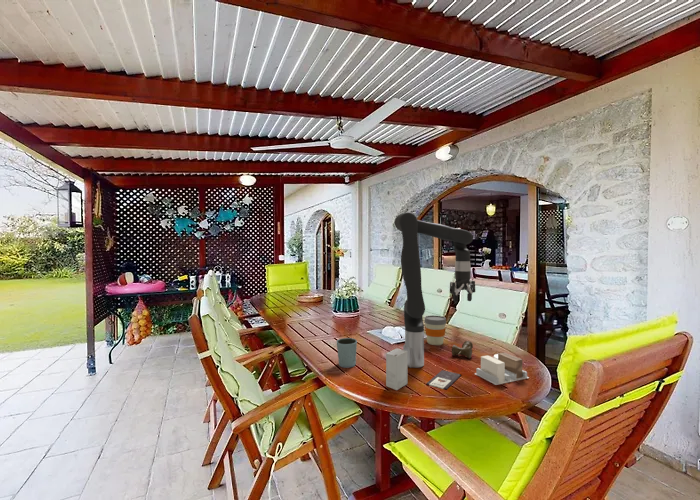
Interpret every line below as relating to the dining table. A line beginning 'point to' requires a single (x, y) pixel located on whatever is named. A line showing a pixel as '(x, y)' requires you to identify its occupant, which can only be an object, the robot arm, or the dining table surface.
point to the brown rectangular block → (511, 363)
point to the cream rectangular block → (493, 367)
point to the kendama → (463, 349)
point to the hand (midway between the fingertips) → (462, 301)
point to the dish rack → (495, 380)
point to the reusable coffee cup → (435, 329)
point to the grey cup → (347, 352)
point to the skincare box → (396, 368)
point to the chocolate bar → (443, 379)
